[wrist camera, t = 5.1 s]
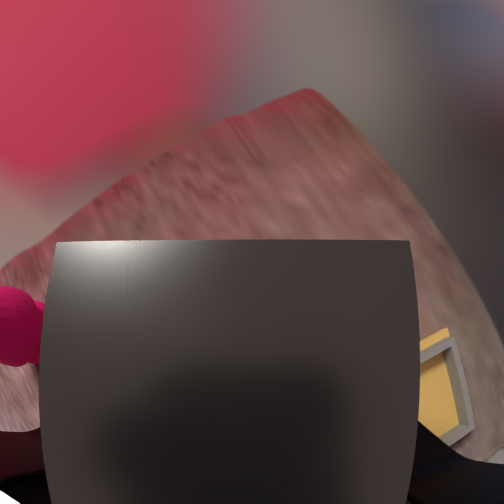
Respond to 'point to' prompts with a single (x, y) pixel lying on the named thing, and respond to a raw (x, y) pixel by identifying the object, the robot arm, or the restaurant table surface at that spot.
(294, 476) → the grey rectangular block
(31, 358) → the pepper mill
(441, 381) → the square tray
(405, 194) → the restaurant table surface
